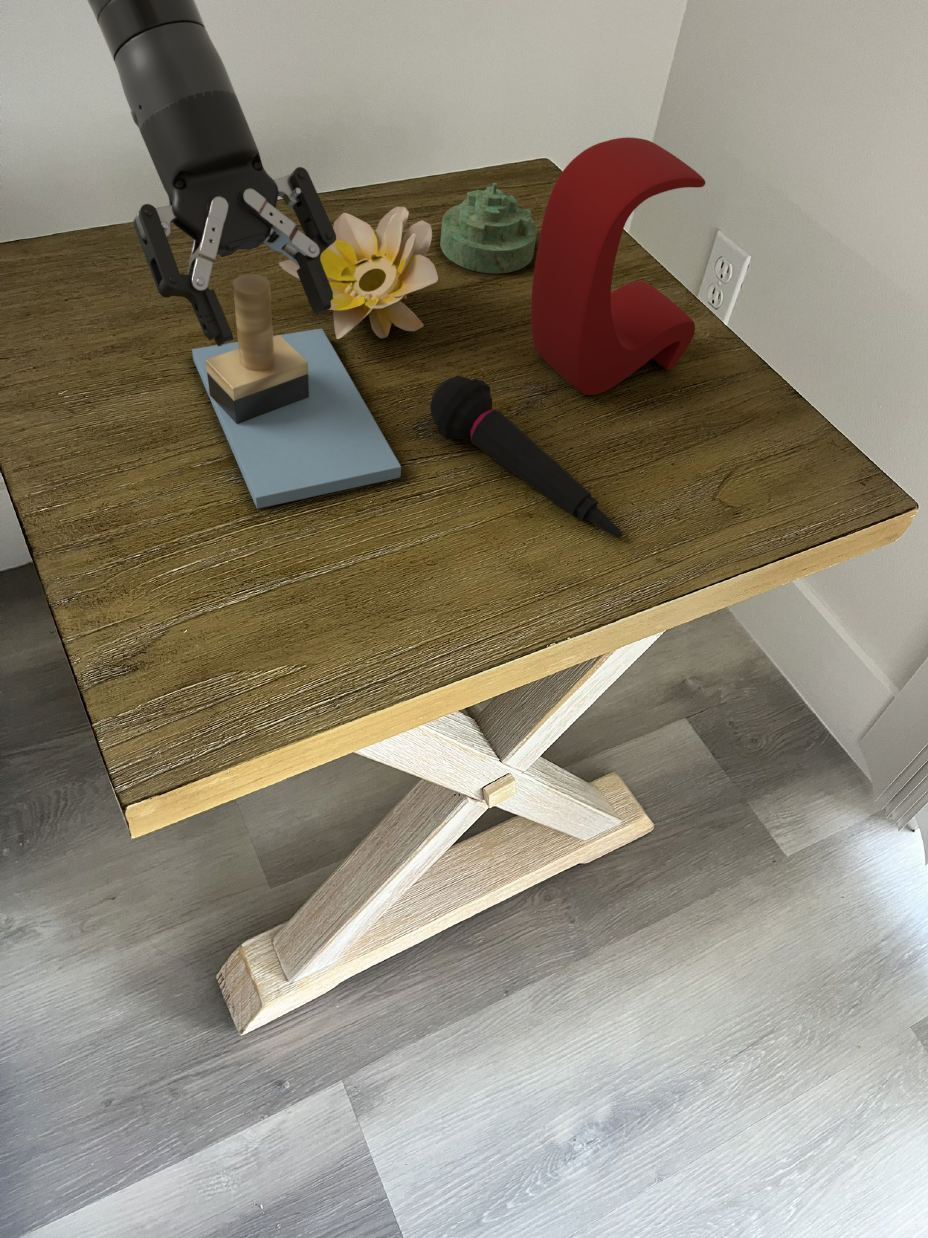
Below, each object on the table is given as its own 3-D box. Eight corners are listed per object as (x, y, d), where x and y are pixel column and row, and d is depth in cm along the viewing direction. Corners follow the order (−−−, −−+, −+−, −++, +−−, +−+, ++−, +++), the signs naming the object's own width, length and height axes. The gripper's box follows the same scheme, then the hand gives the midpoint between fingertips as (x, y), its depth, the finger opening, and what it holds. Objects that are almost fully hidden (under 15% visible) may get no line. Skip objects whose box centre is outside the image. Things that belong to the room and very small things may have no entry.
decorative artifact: (517, 222, 109) (430, 225, 106) (526, 158, 103) (435, 161, 101) (545, 270, 103) (453, 276, 100) (557, 206, 97) (460, 210, 95)
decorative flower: (262, 259, 95) (283, 160, 89) (365, 265, 101) (392, 173, 95) (317, 356, 88) (346, 257, 81) (425, 357, 94) (460, 264, 87)
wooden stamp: (236, 424, 80) (225, 311, 72) (209, 395, 83) (195, 281, 74) (309, 397, 84) (306, 285, 76) (281, 369, 86) (275, 257, 78)
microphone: (618, 553, 81) (446, 412, 87) (653, 499, 78) (471, 356, 83) (586, 572, 77) (407, 423, 83) (621, 516, 74) (433, 365, 79)
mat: (256, 509, 76) (255, 497, 75) (193, 360, 87) (191, 348, 86) (400, 477, 80) (401, 466, 79) (322, 338, 91) (322, 327, 90)
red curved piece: (562, 408, 88) (608, 191, 73) (516, 363, 92) (551, 148, 76) (685, 366, 94) (752, 158, 79) (637, 325, 98) (693, 119, 83)
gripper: (103, 106, 65) (205, 342, 69) (289, 70, 72) (373, 288, 75) (85, 152, 72) (178, 365, 75) (257, 115, 78) (336, 313, 82)
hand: (276, 326), depth 75 cm, fingers open, 8 cm apart
